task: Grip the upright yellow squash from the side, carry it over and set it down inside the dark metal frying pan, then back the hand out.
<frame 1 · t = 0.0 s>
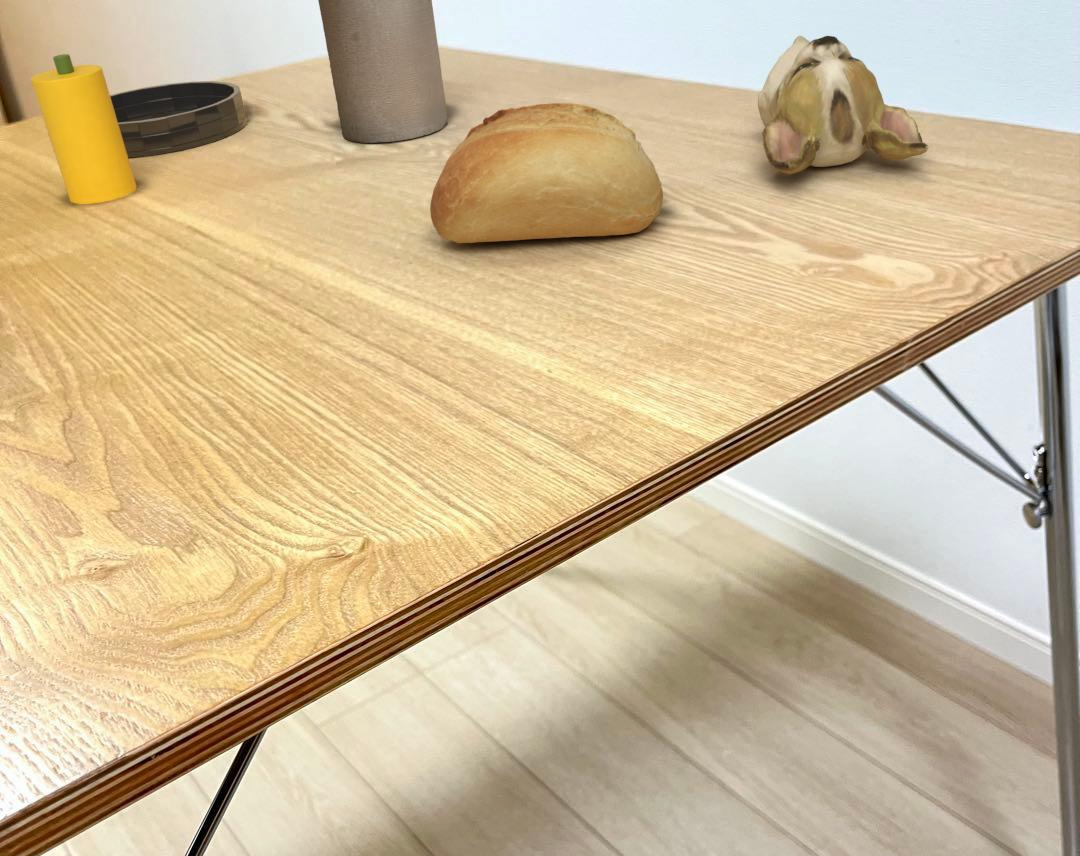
bread roll: (549, 238, 75), on the table
pan: (163, 134, 110), on the table
ceramic sculpture: (824, 164, 83), on the table
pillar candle: (396, 131, 103), on the table
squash: (106, 203, 92), on the table
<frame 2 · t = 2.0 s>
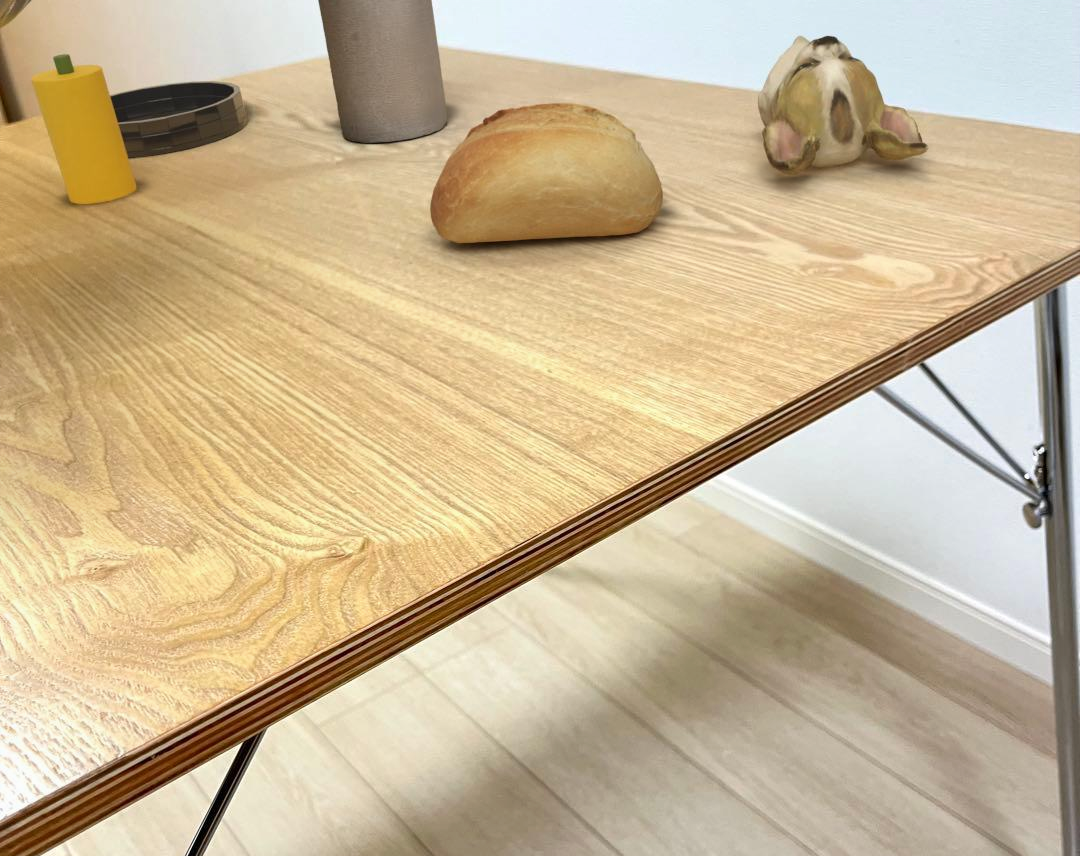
nothing on the table moved.
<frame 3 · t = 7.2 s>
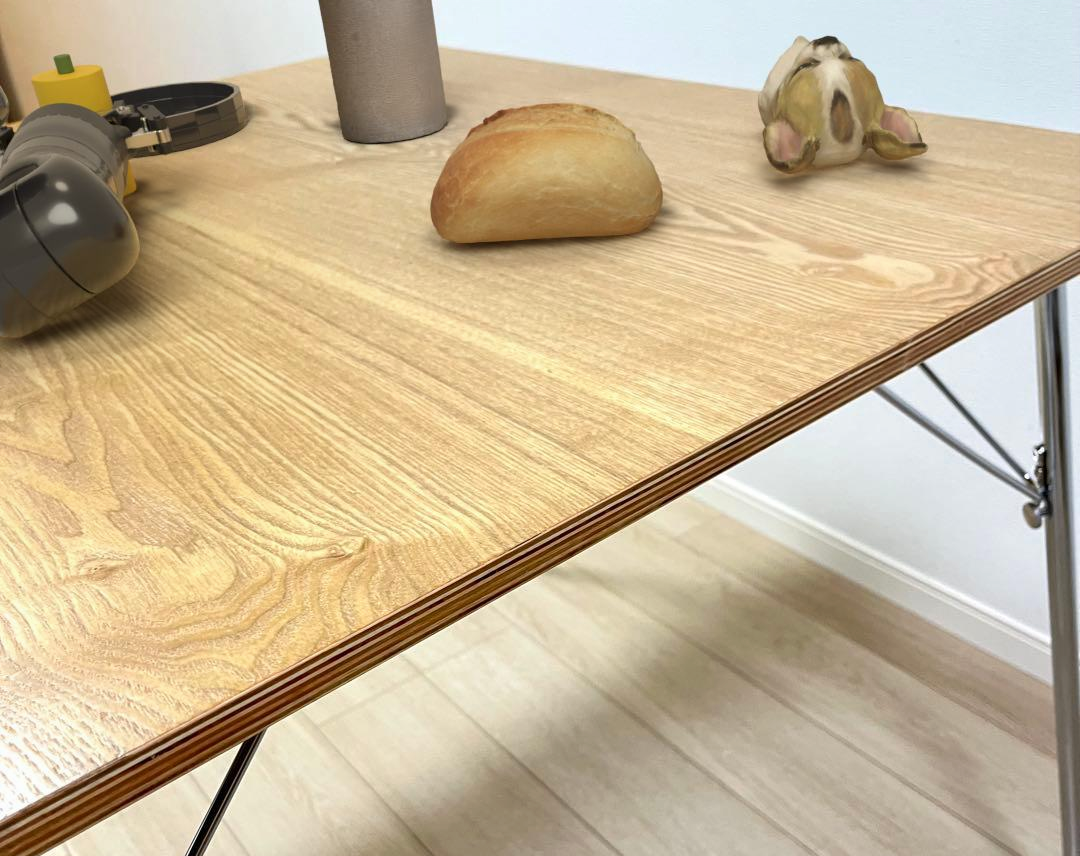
hand: (85, 119, 90), 6 cm above the table, tool horizontal, fingers closed on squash, 5 cm apart
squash: (106, 203, 92), on the table, touching gripper
everything else where it was.
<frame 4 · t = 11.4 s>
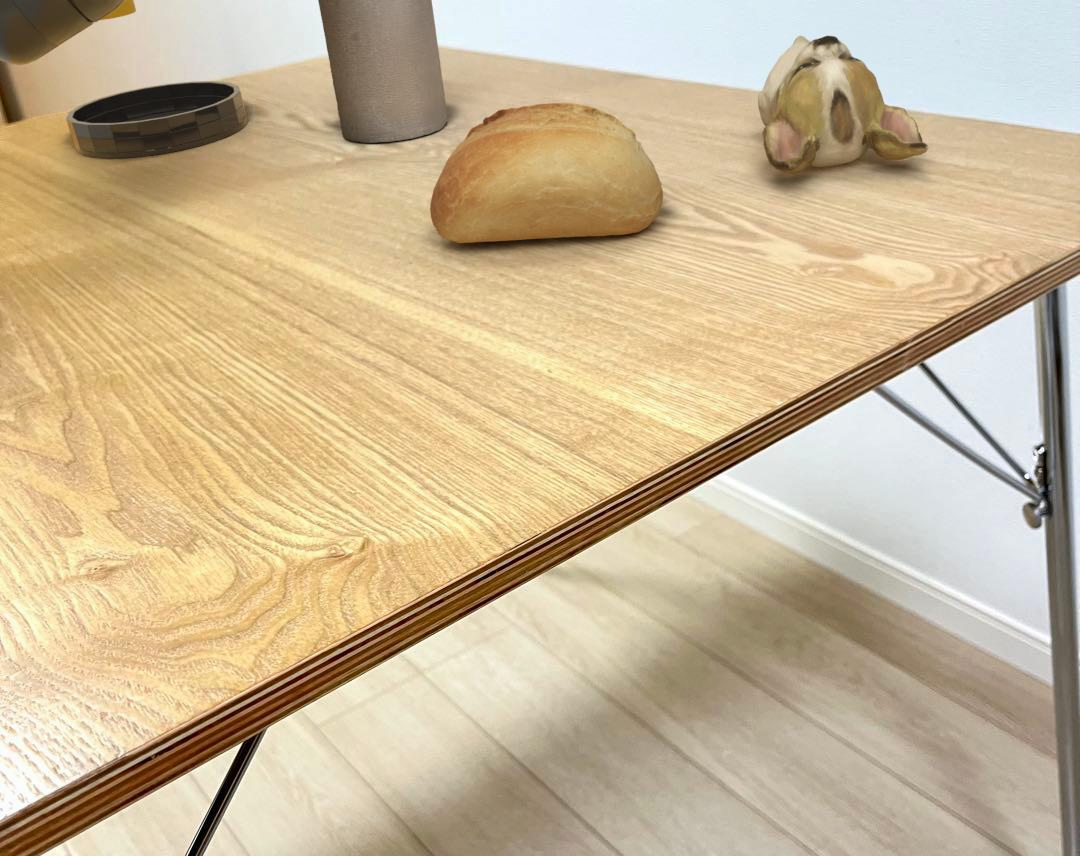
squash: (104, 15, 97), point 12 cm above the table, touching gripper
everything else where it was.
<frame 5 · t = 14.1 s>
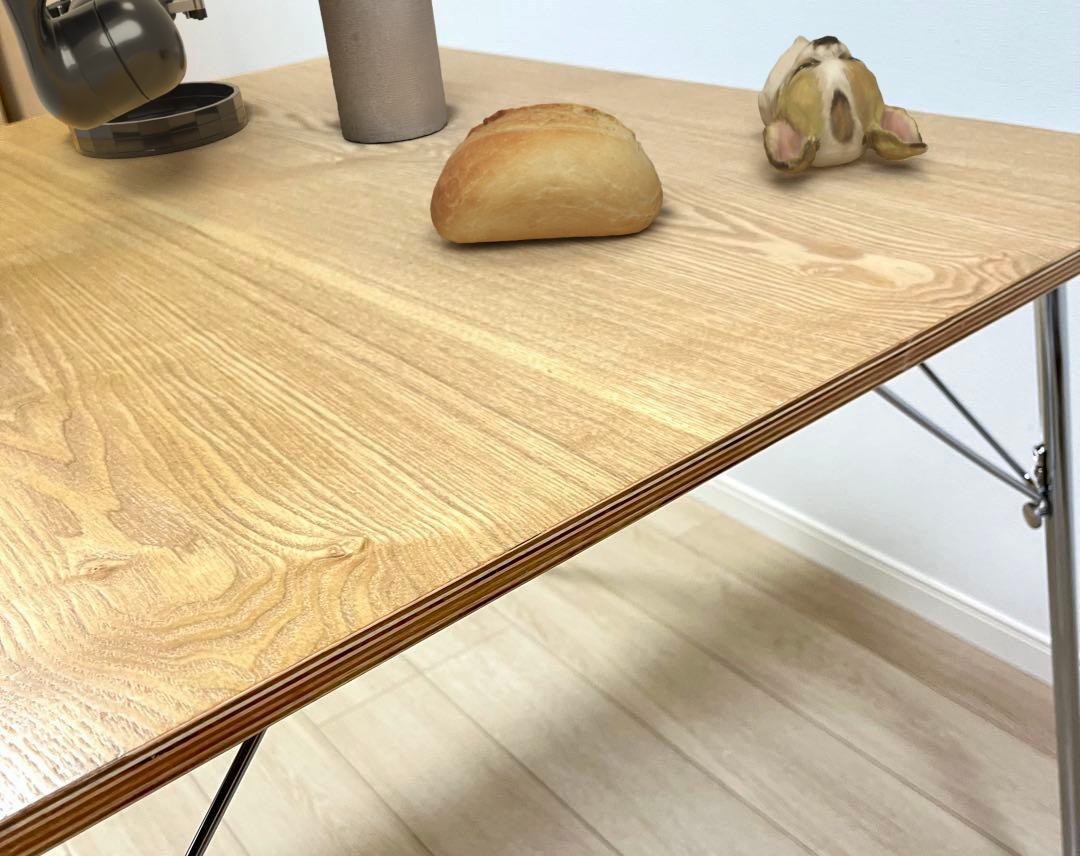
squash: (147, 72, 107), point 6 cm above the table, touching gripper
everything else where it was.
when the fingers open (7 cm above the table, at t = 16.0 s): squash stays where it is, resting on pan.
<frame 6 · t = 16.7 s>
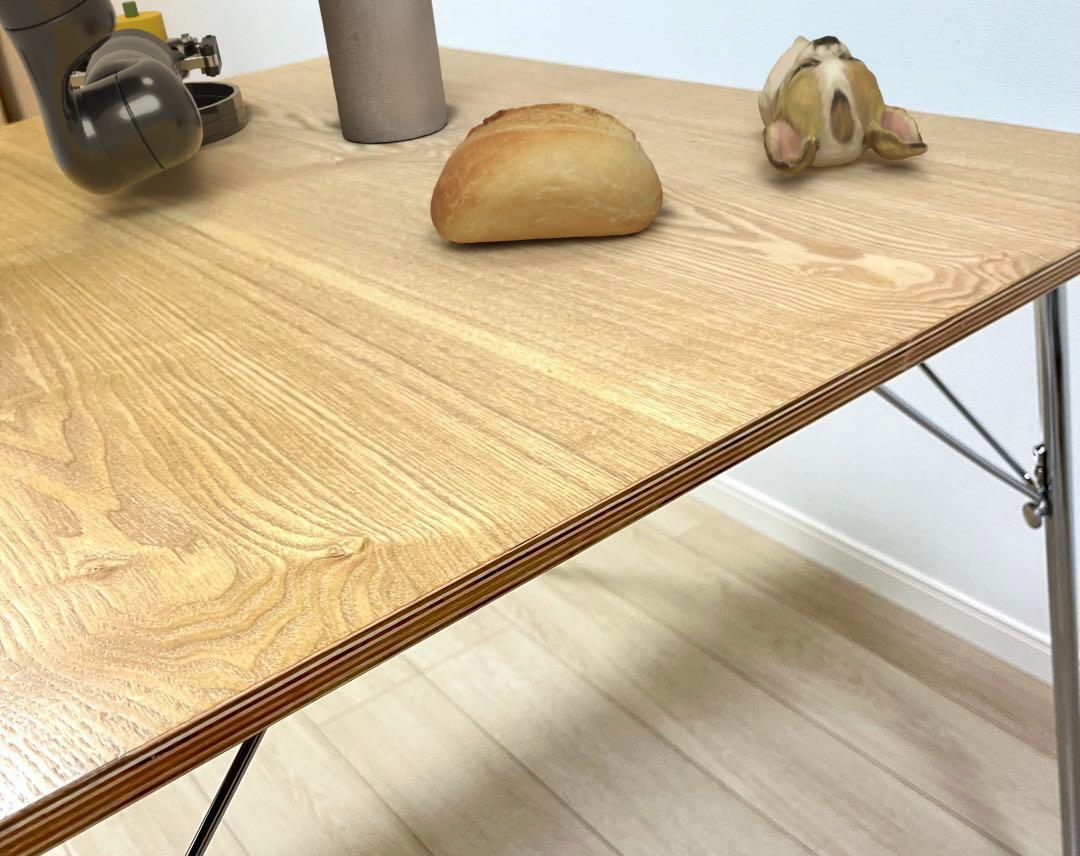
hand: (141, 52, 108), 7 cm above the table, tool horizontal, fingers open, 8 cm apart
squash: (162, 128, 110), resting on pan
everything else where it was.
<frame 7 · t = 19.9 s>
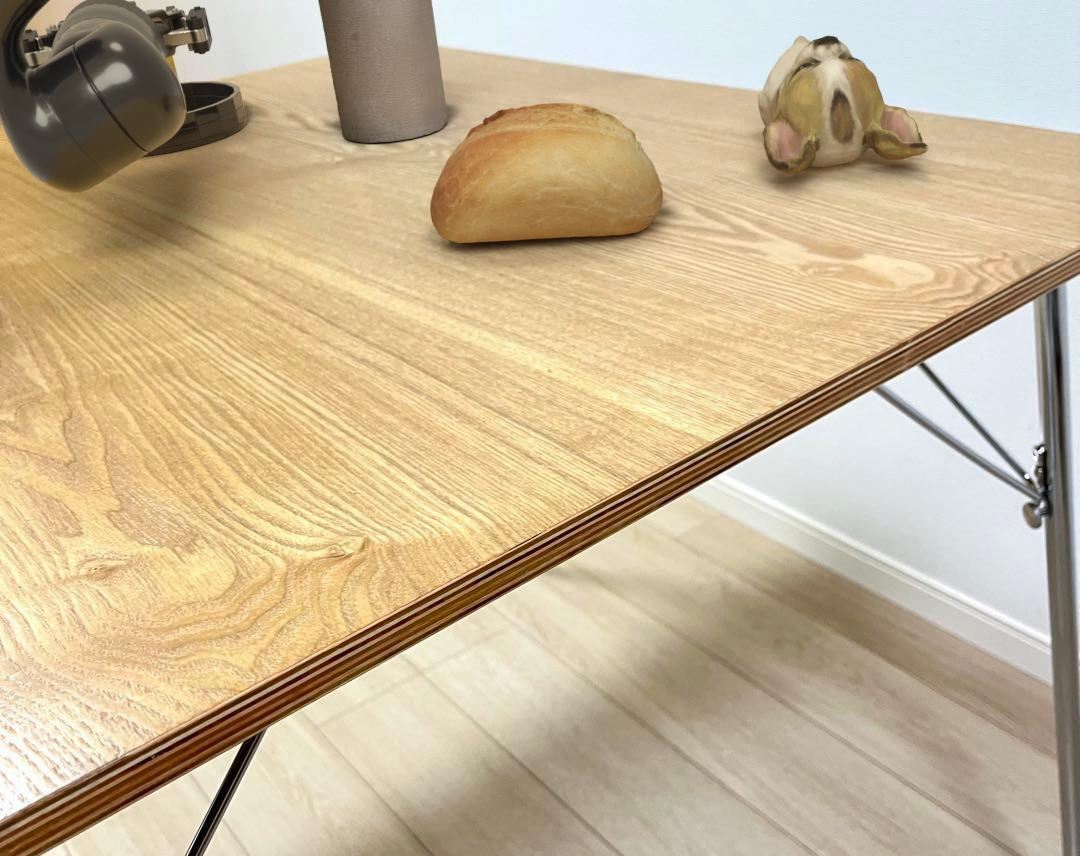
hand: (121, 26, 95), 11 cm above the table, tool horizontal, fingers open, 8 cm apart
nothing on the table moved.
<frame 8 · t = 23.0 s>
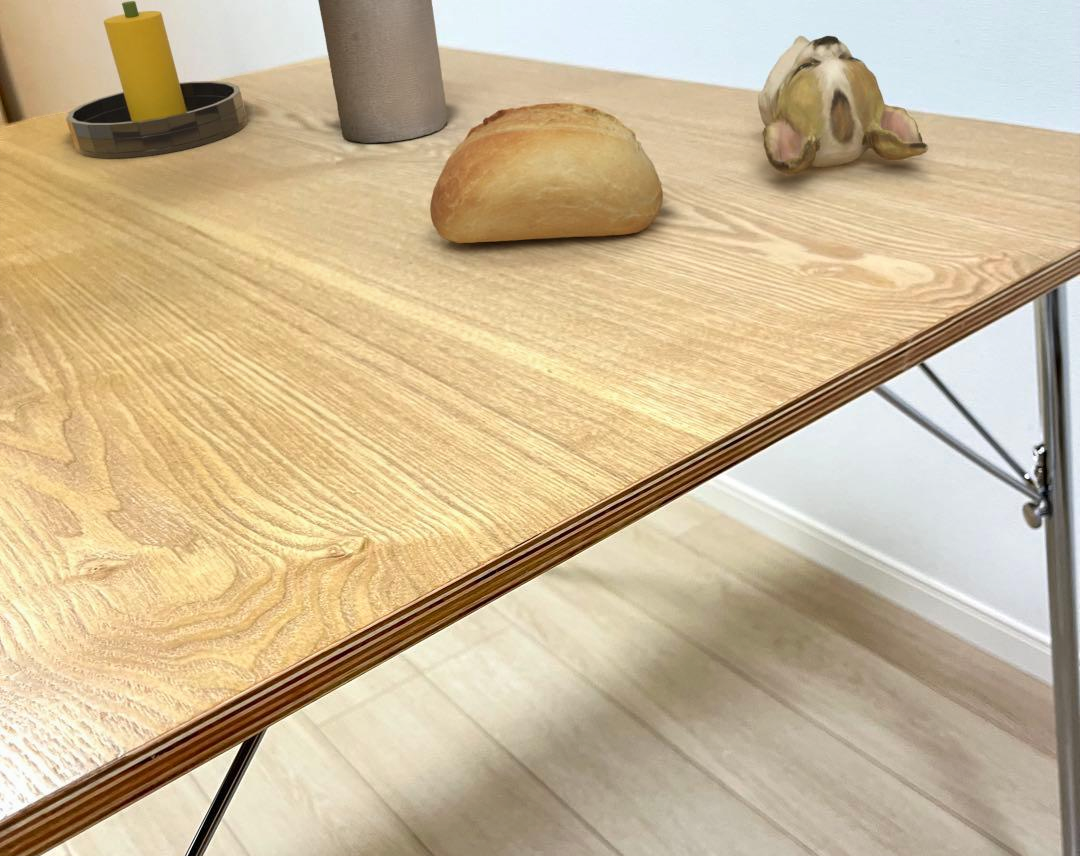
nothing on the table moved.
at the end: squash inside the target area in the pan (0.1 cm from its centre), point 0.5 cm above the pan's base; the gripper is holding nothing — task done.
